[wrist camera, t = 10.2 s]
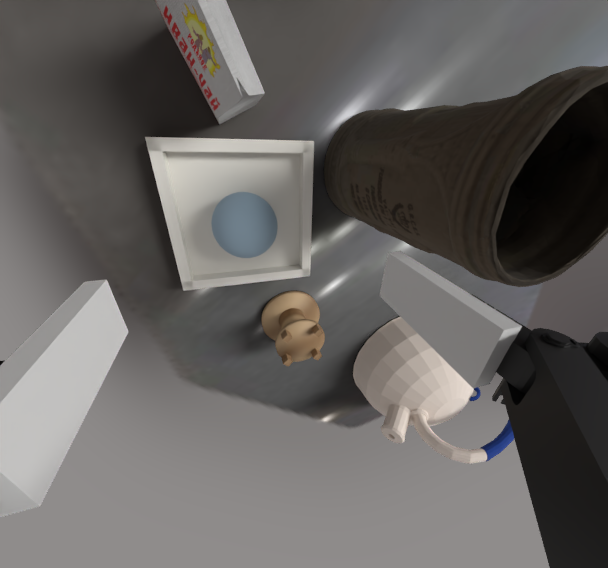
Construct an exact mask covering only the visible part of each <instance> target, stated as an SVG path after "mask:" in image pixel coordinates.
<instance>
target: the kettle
mask: <svg viewBox="0 0 608 568" xmlns="http://www.w3.org/2000/svg"><path fill="white" fill-rule="evenodd" d="M353 377H354V381H355V384H356V385H357V386H358V388H359V389H360V390H361V392H362V393H363V395H364V396H365V397H366V399H367V400H368V402H369V403H370V404H371V405H372V406H373V407H374V408H375V409H376V410H378V411H379V412H380V413H381V414H383V415H384V416H385V417H386V418H385V421H384V424H383V425H382V426H381V430H382V433H383V435H384V436H385V437H386V438H388V439H389V440H391V441H392V442H395V443H399V444H400V443H403V442H404V441H405V433H406V430H407V428H408V425H413V426H415V429H416V430H417V432H418V433H419V435H420V436H421V437H422V439H423V440H424V441H425V442H426V443H427V444H428V445H429V446H430V447H431V448H432V449H434V450H435V451H436V452H438V453H440V454H442V455H443V456H445V457H447V458H449V459H451V460H455V461H459V462H463V463H467V464H470V463H477V462H483V461H488V460H490V459H491V458H493V457H494V456H496V455H497V454H499V453H500V452H501V451H502V450H503V449H505V448H506V447H507V446H508V445H509V444H510V443H511V442H512V441H513V439H514V435H513V431H512V427H511V424H510V420H508V423H507V425H506V426H505V428H504V429H503V431H502V432H501V434H499V435H498V436H497V438H495V439H494V440H493V441H491V442H490V443H488V444H486V445H485V446H483V447H481V448H480V449H473V450H467V449H463V448H458V447H454V446H452V445H450V444H448V443H447V442H445V441H443V440H441V439H440V438H439V437H438V436H437V435H436V434H435V433H433V431H432V430H431V428H430V427H429V426H434V425H437V424H440V423H442V422H445V421H447V420H450V419H451V418H453V417H455V416H456V415H457V414H458V413H459V412H460V411H461V410H462V409H463V408H464V406H465V405H466V404H467V403H468V401H469V400H470V401H474V400H477V399H478V398H479V397H480V390H479V388H478V387H477V388H472V387H471V386H470V385H469V384H468V383H467V382H466V381H465V380H464V379H463V378H462V377H461V376H460V375H459V374H458V373H457V372H456V371H455V370H454V369H453V368H452V367H451V366H450V365H449V364H448V363H447V362H446V361H445V360H444V359H443V358H442V357H441V356H440V355H439V354H438V353H437V352H436V351H435V350H434V349H433V348H432V347H431V346H430V345H429V344H428V343H427V342H426V341H425V340H424V339H423V338H422V337H421V336H420V335H419V334H418V333H417V332H416V331H415V330H414V329H413V328H412V327H411V326H410V325H409V324H408V323H407V322H406V321H405V320H404V319H403V318H402V317H401V316H400V317H398V318H396V319H394V320H391V321H390V322H388V323H387V324H385V325H384V326H383V327H381V328H380V329H378V330H377V331H376V332H375V333H374V334H373V335H372V336H371V337H370V338H369V339H368V340H367V341H366V343H365V344H364V346H363V347H362V348H361V350H360V351H359V353H358V356H357V358H356V361H355V363H354V369H353ZM473 389H474V390H475V391H476V392H477V395H476V396H475V397H471V396H472V394H473Z"/></svg>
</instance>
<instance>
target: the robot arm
mask: <svg viewBox="0 0 608 568" xmlns="http://www.w3.org/2000/svg"><path fill="white" fill-rule="evenodd" d="M380 297H381V298H382V299H383V300H384V301H385V302H386V303H387V304H388V305H389V306H390V307H391V308H392V309H393V310H394V311H395V312H396V313H397V314H398V315H400V316H401V317H402V318H403V319H404V320H405V321H406V322H407V323H408V324H409V325H410V326H411V327H412V328H413V329H414V330H415V331H416V332H417V333H418V334H419V335H420V336H421V337H422V338H423V339H424V340H425V341H426V342H427V343H428V344H429V345H430V346H431V347H432V348H433V349H434V350H435V351H436V352H437V353H438V354H439V355H440V356H441V357H442V358H443V359H444V360H445V361H446V362H447V363H448V364H449V365H450V366H451V367H452V368H453V369H454V370H455V371H456V372H457V373H458V374H459V375H460V376H461V377H462V378H463V379H464V380H465V381H466V382H467V383H468V384H469V385H470V386H471V387H472V388H477V387H480V386H484V385H487V384H490V382H491V380H492V379H493V377H494V375H495V373H496V372H497V373H498V374H499V375H501V376H502V377H503V380H502V381H501V383H500V385H499V386H498V388H497V390H496V391H495V393H494V395H493V398H492V399H493V401H496V400H497V399H498V397H499V396H500V395H503V400H502V402H501V403H502V404H505V405H506V409H507V413H508V416H509V420H510V424H511V427H512V431H513V435H514V438H515V442H516V445H517V449H518V453H519V456H520V460H521V463H522V467H523V471H524V475H525V478H526V482H527V486H528V489H529V493H530V497H531V500H532V504H533V508H534V511H535V515H536V519H537V522H538V526H539V530H540V533H541V537H542V541H543V544H544V548H545V552H546V555H547V559H548V563H549V566H550V568H608V332H599V333H597V334H596V335H595V336H594V337H593V339H592V340H591V341H590V342H589V343H578V342H576V341H575V340H574V339H571V338H570V337H568V336H566V335H564V334H561V333H559V332H556V331H553V330H549V329H543V328H538V329H534V330H532V331H531V330H530V329H528V328H526V327H525V326H523V325H521V324H520V323H518V322H517V321H515V320H513V319H512V318H510V317H508V316H507V315H505V314H504V313H502V312H500V311H499V310H497V309H496V310H495V309H494V307H492V306H490V305H489V304H485V302H484V301H482V300H481V299H479V298H477V297H476V296H474V295H471V294H469V293H467V292H466V291H464V290H463V289H461V288H459V287H458V286H456V285H455V284H453V283H451V282H450V281H448V280H446V279H445V278H443V277H442V276H440V275H438V274H437V273H435V272H433V271H432V270H430V269H429V268H427V267H425V266H424V265H422V264H420V263H419V262H417V261H416V260H414V259H412V258H411V257H409V256H407V255H406V254H404V253H403V252H401V251H397V252H388V255H387V260H386V265H385V270H384V276H383V281H382V286H381V291H380ZM127 334H128V329H127V327H126V324H125V322H124V320H123V318H122V315H121V313H120V311H119V308H118V305H117V303H116V301H115V298H114V296H113V294H112V291H111V289H110V286H109V284H108V282H107V280H97V281H88V282H87V281H86V282H84V283H83V284H82V285H81V286H80V287H79V288H78V289H77V290H76V291H75V292H74V293H73V294H72V295H71V296H70V297H69V298H68V299H67V300H66V301H65V302H64V303H63V304H62V305H61V306H60V307H59V308H58V309H57V310H56V311H55V312H54V313H53V314H52V315H51V316H50V317H49V318H48V319H47V320H46V321H45V322H44V323H43V324H42V325H41V326H40V327H39V328H38V329H37V330H36V331H35V332H34V333H33V334H32V335H30V337H29V338H27V339H26V341H25V342H23V343H22V344H21V346H20V347H18V348H17V349H16V350H15V351H14V352H13V353H12V354H11V355H10V356H9V357H8V358H7V359H6V360H5V361H0V517H2V516H6V515H10V514H14V513H17V512H21V511H24V510H28V509H31V508H36V507H39V506H40V505H41V503H42V501H43V499H44V497H45V495H46V493H47V491H48V489H49V487H50V485H51V483H52V481H53V479H54V477H55V475H56V474H57V472H58V469H59V468H60V466H61V464H62V462H63V460H64V458H65V456H66V454H67V452H68V450H69V448H70V446H71V444H72V442H73V440H74V438H75V436H76V434H77V432H78V430H79V428H80V426H81V424H82V422H83V420H84V418H85V416H86V414H87V412H88V411H89V409H90V407H91V405H92V403H93V401H94V399H95V397H96V395H97V393H98V391H99V389H100V387H101V385H102V383H103V381H104V379H105V377H106V375H107V373H108V371H109V369H110V367H111V365H112V363H113V361H114V359H115V357H116V355H117V353H118V351H119V349H120V348H121V346H122V344H123V342H124V340H125V338H126V336H127Z"/></svg>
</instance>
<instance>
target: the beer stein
mask: <svg viewBox="0 0 608 568" xmlns="http://www.w3.org/2000/svg"><path fill="white" fill-rule="evenodd" d="M324 180H325V186H326V189H327V192H328V195H329V197H330V199H331V200H332V202H333V203H334V204H335V205H336V206H337V207H338V208H339V210H341V211H342V212H343V213H345V214H347V215H349V216H351V217H355V218H357V219H358V220H360V221H363V222H365V223H367V224H368V225H370V226H372V227H374V228H375V229H377V230H378V231H380V232H383V233H386V234H389V235H391V236H393V237H396V238H398V239H400V240H402V241H404V242H406V243H407V244H409V245H411V246H413V247H415V248H418V249H420V250H423V251H425V252H428V253H435V254H438V255H440V256H442V257H444V258H446V259H449V260H451V261H453V262H455V263H456V264H458V265H460V266H462V267H464V268H465V269H466V270H468V271H469V272H471V273H472V274H474V275H476V276H478V277H480V278H483V279H486V280H492V281H498V282H501V283H504V284H506V285H512V286H518V287H526V286H532V285H537V284H540V283H543V282H545V281H548V280H550V279H552V278H555V277H557V276H559V275H560V274H562V273H563V272H565V271H566V270H567V269H568V268H570V267H571V266H572V265H574V264H575V263H576V262H578V261H579V260H580V259H581V258H583V257H584V256H586V255H587V254H588V253H589V252H590V251H591V250H592V249H593V248H594V247H595V246H596V245H597V244H598V243H599V242H600V241H601V240H602V239H603V238H604V237H605V236H606V235H607V233H608V66H603V67H596V66H580V67H576V68H572V69H569V70H566V71H562V72H559V73H556V74H553V75H550V76H549V77H547V78H545V79H543V80H541V81H539V82H537V83H535V84H534V85H532V86H530V87H528V88H526V89H525V90H524V91H522V92H521V93H519V94H518V95H516V96H512V97H507V98H502V99H497V100H493V101H488V102H476V103H471V104H467V105H464V106H460V107H459V106H448V105H443V106H437V107H430V108H423V109H416V110H407V111H404V110H398V109H393V108H392V109H383V110H370V111H365V112H362V113H359V114H357V115H355V116H353V117H352V118H350V119H349V120H348V121H346V122H345V123H344V124H343V125H342V126H341V127H340V129H339V130H338V131H337V132H336V134H335V135H334V137H333V139H332V141H331V143H330V145H329V147H328V150H327V154H326V157H325V163H324Z"/></svg>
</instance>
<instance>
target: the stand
mask: <svg viewBox="0 0 608 568" xmlns="http://www.w3.org/2000/svg"><path fill="white" fill-rule="evenodd" d="M319 316H320V312H319V307H318V305H317V303H316V302H315V300H314V299H313V298H312V297H311V296H310V295H309V294H307V293H305V292H301V291H287V292H283V293H281V294H278V295H277V296H275V297H274V298H272V299H271V300H270V301H269V302H268V303H267V304H266V306H265V307H264V309H263V312H262V316H261V321H262V326H263V330H264V332H265V333H266V334H267V336H269V337H270V338H271V339H273V340H275V346H276V350H277V352H278V354H279V356H280V357H282V361H283V364H284V365H286V366H289V365H290V364H291V363H292V362H298V361H303V360H306V359H308V358H310V357H312V356H313V358H314V359H316V360H319V359H320V358H321V357H322V355H321V353H320V351H319V350H320V349H321V347H322V346H323V343H324V339H325V335H324V332H323V330H322V328H321V326H320V325H319V324H318V321H319Z"/></svg>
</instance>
